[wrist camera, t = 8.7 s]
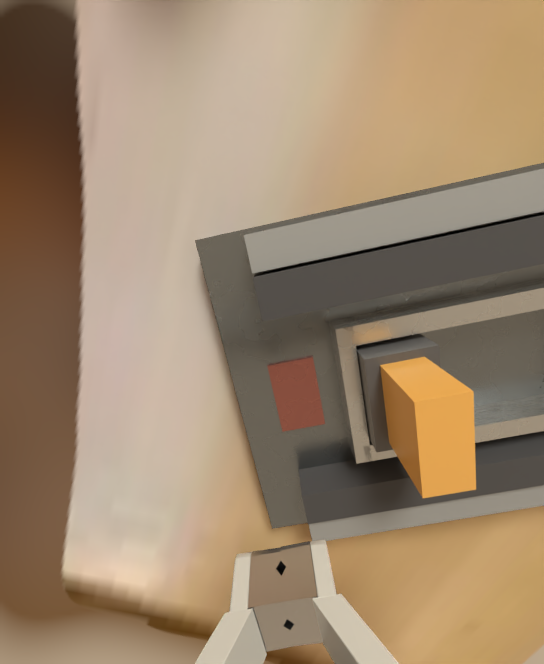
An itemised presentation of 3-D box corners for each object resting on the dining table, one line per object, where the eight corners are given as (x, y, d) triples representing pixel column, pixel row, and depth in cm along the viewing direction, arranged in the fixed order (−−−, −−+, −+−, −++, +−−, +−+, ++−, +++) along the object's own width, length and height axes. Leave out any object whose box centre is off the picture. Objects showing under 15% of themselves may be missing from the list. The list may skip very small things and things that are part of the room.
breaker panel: (690, 132, 18) (807, 100, 14) (642, 444, 24) (715, 482, 20) (202, 241, 19) (185, 239, 15) (272, 507, 25) (272, 553, 21)
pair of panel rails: (680, 140, 16) (750, 122, 14) (633, 464, 22) (676, 490, 19) (246, 236, 17) (243, 234, 15) (309, 518, 23) (313, 548, 21)
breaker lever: (413, 329, 19) (493, 376, 12) (420, 412, 20) (494, 495, 14) (349, 342, 19) (393, 395, 12) (361, 423, 20) (406, 509, 14)
